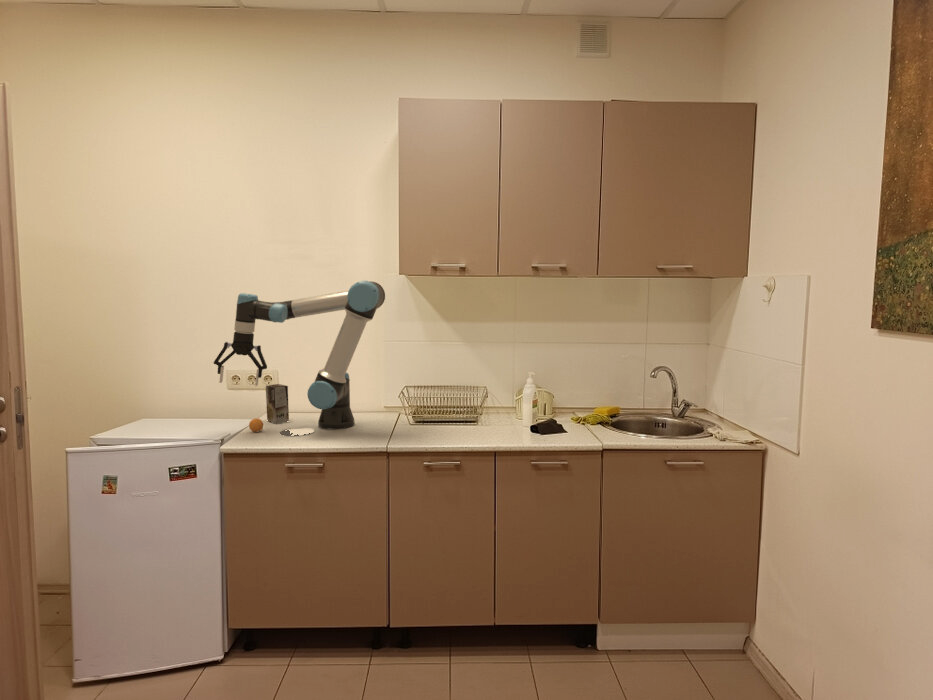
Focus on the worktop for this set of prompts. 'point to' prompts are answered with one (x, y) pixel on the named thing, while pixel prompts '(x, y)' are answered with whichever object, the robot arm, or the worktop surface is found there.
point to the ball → (256, 425)
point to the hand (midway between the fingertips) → (238, 383)
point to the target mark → (288, 433)
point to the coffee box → (277, 403)
